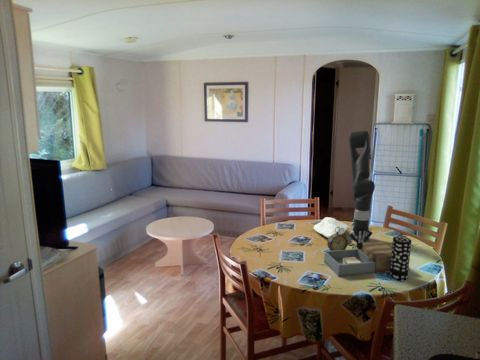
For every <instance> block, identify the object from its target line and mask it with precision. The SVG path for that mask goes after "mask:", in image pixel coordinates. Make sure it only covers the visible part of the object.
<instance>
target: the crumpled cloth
mask: <svg viewBox="0 0 480 360" xmlns="http://www.w3.org/2000/svg"><path fill="white" fill-rule="evenodd" d="M337 227H339V228H340V229H339V228H337ZM335 229H336V232H335ZM350 229H351V227H350V226H349V225H348V224H346V223H345V222H342V221H339V220H337V219H336V218H334V217H328V216H326V217H324V218H323V219H322V220H321V221H319V222H318V223H316V224H314V225H313V230H314V231H315V232H317V233H318V234H320V235H323V236H324V237H326V238H327V239H329V237H330V236H331V235H333V234H336V233H337V232H338V234H341V235H344V234H345V232H347V231H349V230H350ZM339 230H340V231H339Z"/></svg>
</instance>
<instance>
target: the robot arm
mask: <svg viewBox="0 0 480 360" xmlns="http://www.w3.org/2000/svg"><path fill="white" fill-rule="evenodd" d="M370 141H371V140H370V133H369V132H368V131H367V130H360V131H352V132H349V133H348V145H349V152H350V162H351V163H350V164H351V175H352V176H351V177H352V192H353V193H352V195H353V196H352V197H353V201H354V202H355V206H354V212H353V214H354V215H353V227H352V230H351V231H349V232H348V235H349V236H350V238H351V239H352V240H353V241H354V242H355V243H356V249H362V248H363V243H367V242H368V241H369V239H370V237H371V236H372V235H373V232H372V231H370V221H371V220H370V218H371V209H372V206H371V205H372V200H373V199H372V198H373V194H374V192H375V189H376V188H375V187H376V185H375V182H374V181H373V180H369V178H370V176H371V175H370V174H371V172H370V151H371V149H370V147H371V146H370V145H371V142H370ZM361 148H363V150H362V152H361V154H360V153H359V152H358V150H357V149H361Z"/></svg>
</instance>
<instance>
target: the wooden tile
mask: <svg viewBox="0 0 480 360" xmlns="http://www.w3.org/2000/svg"><path fill="white" fill-rule="evenodd" d="M354 263H361V262H360V261H359V260H358V259H357V258H356V257H348V258H343V264H354Z"/></svg>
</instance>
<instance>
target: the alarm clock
mask: <svg viewBox="0 0 480 360" xmlns="http://www.w3.org/2000/svg"><path fill="white" fill-rule="evenodd" d="M337 228H339V227H337ZM339 229H340V228H339ZM339 231H340V230H339ZM335 232H336V229H335ZM326 244H327V247H328V250H329V251H336V250H347V248H348V239H347V237H346V236H344V234H342V235H341V234H338V232H337V233H336V234H333V235H331V236H330V237H329V238H327V243H326Z"/></svg>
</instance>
